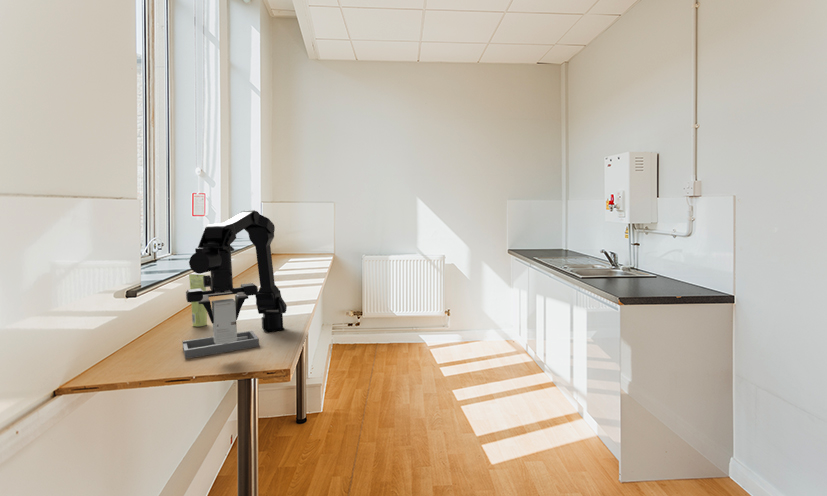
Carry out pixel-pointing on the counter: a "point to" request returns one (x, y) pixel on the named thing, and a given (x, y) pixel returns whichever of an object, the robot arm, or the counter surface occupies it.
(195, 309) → the tube
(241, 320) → the counter surface
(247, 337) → the pusher
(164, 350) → the counter surface
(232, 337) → the skincare box
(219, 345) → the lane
